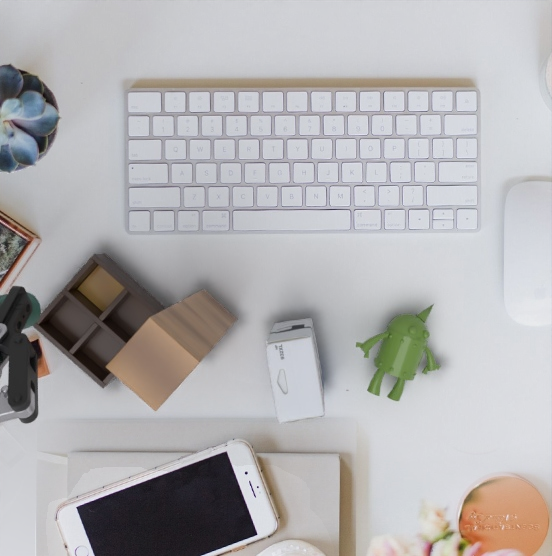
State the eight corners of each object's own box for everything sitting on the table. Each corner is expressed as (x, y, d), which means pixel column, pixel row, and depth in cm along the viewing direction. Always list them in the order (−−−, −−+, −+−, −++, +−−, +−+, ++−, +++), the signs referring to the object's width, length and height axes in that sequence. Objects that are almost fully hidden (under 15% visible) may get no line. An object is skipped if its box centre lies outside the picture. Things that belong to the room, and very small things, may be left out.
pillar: (207, 353, 68) (155, 412, 46) (173, 322, 68) (104, 367, 46) (237, 319, 68) (200, 362, 46) (203, 288, 68) (149, 316, 46)
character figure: (351, 395, 61) (390, 290, 61) (332, 377, 66) (367, 280, 65) (436, 414, 66) (472, 317, 65) (412, 396, 70) (445, 305, 70)
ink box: (325, 386, 68) (326, 418, 56) (284, 392, 68) (277, 426, 57) (313, 316, 68) (312, 334, 56) (272, 322, 68) (263, 342, 56)
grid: (112, 381, 69) (102, 388, 65) (43, 320, 68) (30, 325, 65) (172, 313, 68) (165, 318, 65) (104, 252, 68) (93, 253, 65)
